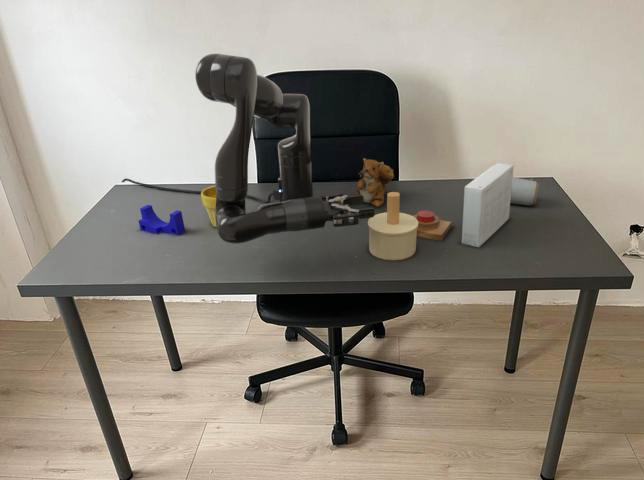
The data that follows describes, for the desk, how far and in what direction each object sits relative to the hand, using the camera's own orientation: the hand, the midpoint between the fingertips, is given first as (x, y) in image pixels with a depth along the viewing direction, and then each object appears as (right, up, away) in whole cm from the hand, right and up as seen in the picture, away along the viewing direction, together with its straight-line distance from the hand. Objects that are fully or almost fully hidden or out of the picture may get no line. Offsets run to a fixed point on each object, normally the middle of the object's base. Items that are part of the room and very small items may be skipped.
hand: (368, 205), depth 131 cm
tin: (+6, -10, +8) cm, 14 cm away
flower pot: (-40, -2, +24) cm, 47 cm away
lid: (+6, -4, +4) cm, 9 cm away
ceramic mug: (+47, +5, +33) cm, 58 cm away
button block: (+16, -5, +17) cm, 24 cm away
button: (+16, -2, +16) cm, 23 cm away
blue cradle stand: (-57, -5, +21) cm, 61 cm away
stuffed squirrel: (+3, +7, +38) cm, 38 cm away
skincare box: (+32, -5, +16) cm, 36 cm away
